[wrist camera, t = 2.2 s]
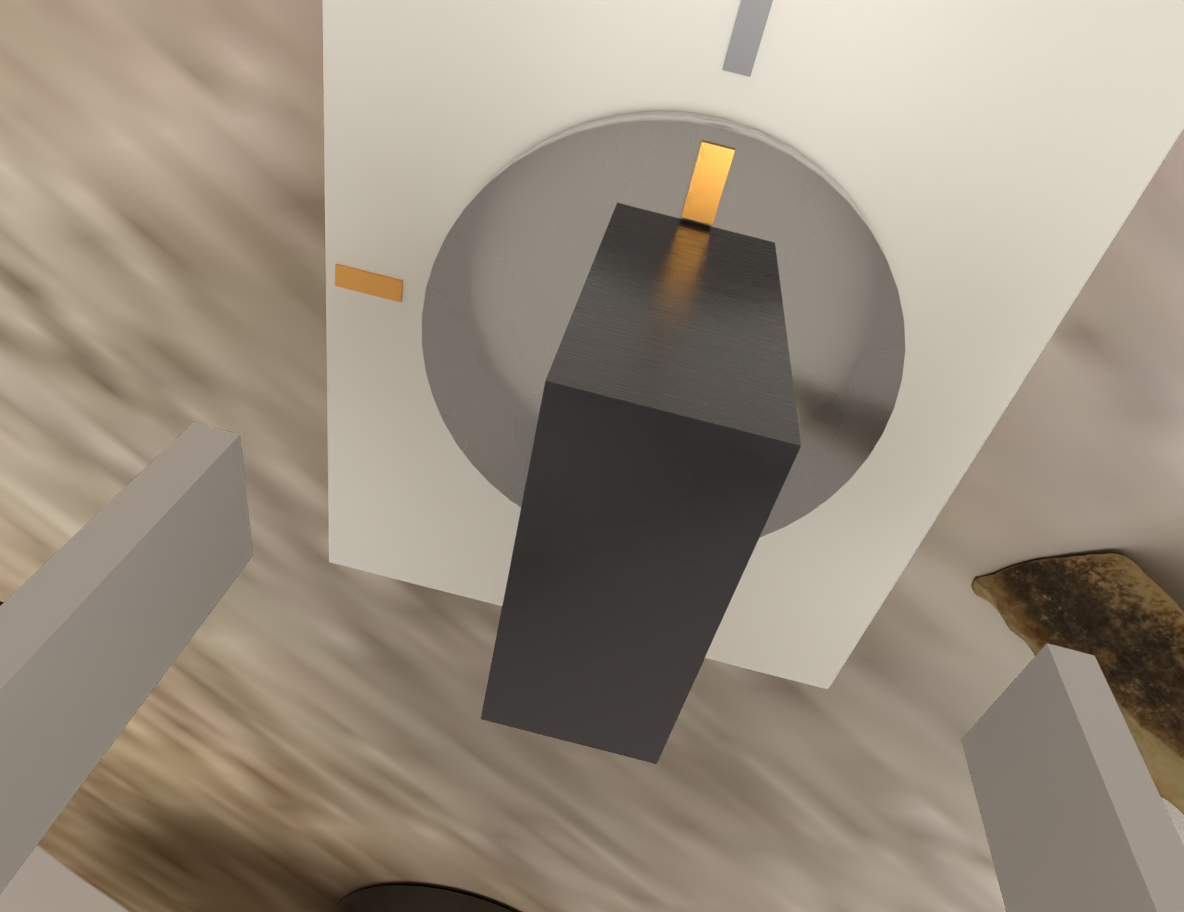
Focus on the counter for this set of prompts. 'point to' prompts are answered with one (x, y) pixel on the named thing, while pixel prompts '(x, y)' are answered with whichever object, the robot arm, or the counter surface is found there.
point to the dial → (651, 395)
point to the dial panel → (819, 132)
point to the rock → (1109, 642)
